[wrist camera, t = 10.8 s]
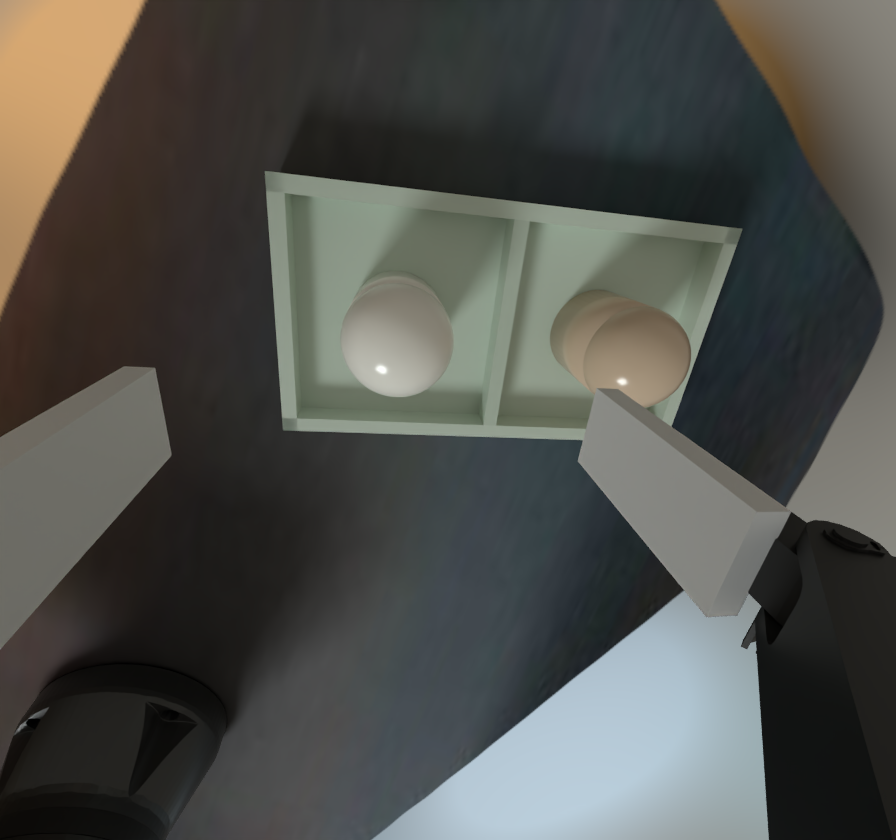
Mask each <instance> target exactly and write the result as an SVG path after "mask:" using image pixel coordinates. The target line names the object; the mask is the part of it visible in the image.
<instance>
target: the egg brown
mask: <svg viewBox="0 0 896 840" xmlns="http://www.w3.org/2000/svg"><path fill="white" fill-rule="evenodd" d="M550 346H551V350H552V353H553V355H554V357H555V359H556V361H557V362H558V363H559V364H560V365H561V366H562V367H563V368H565V369H566V370H567V371H568V372H569V373H570V374H571V375H572V376H574V377H575V378H576V379H577V380H578V381H579V382H580V383H581V384H583V385H584V386H585V387H586V388H587V389H588V390H589V391H590V392H592V393H593V394H594V395H595V392H596V388H607V389H619V390H620V391H622V392H623V393H624V394H626V395H627V396H629V397H630V398H631V399H633V400H634V401H636V402H637V403H638V404H640V405H641V406H643V407H644V408H646V407H650V406H653V405H655V404H658V403H660V402H662V401H664V400H665V399H667V398H668V397H669V396H671V395H672V394H673V393H674V392H675V391H676V390H677V389H678V388H679V386H680V385H681V384H682V382H683V381H684V379H685V377H686V375H687V373H688V370H689V367H690V362H691V346H690V342H689V339H688V336H687V334H686V332H685V330H684V329H683V327H682V326H681V324H680V323H679V322H678V321H677V320H676V319H675V318H674V317H672V316H671V315H670V314H668V313H666V312H664V311H662V310H660V309H657V308H655V307H652V306H649V305H646V304H643V303H641V302H638V301H635V300H632V299H629V298H627V297H624V296H621V295H618V294H615V293H613V292H610V291H606V290H590V291H586V292H583V293H581V294H579V295H577V296H575V297H574V298H572V299H571V300H569V301H568V302H567V303H566V304H565V305H564V306H563V307H562V308H561V310H560V311H559V312H558V314H557V316H556V317H555V319H554V322H553V324H552V328H551V332H550Z"/></svg>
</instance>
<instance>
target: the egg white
mask: <svg viewBox="0 0 896 840" xmlns="http://www.w3.org/2000/svg"><path fill="white" fill-rule="evenodd" d="M340 343H341V350H342V354H343V357H344V360H345V363H346V365H347V367H348V368H349V370H350V371H351V373H352V374H353V376H354V377H355V378H356V379H357V380H358V381H359V382H360V383H361V384H363V385H364V386H365V387H367V388H368V389H370V390H372V391H374V392H376V393H378V394H381V395H385V396H389V397H407V396H412V395H416V394H418V393H421V392H423V391H425V390H426V389H428V388H430V387H431V386H432V385H434V384H435V383H436V382H437V381H438V380H439V379H440V378H441V377H442V375H443V374H444V372H445V371H446V369H447V367H448V365H449V363H450V360H451V357H452V354H453V348H454V334H453V329H452V325H451V321H450V319H449V316H448V314H447V313H446V311H445V309H444V307H443V305H442V304H441V302H440V300H439V298H438V297H437V295H436V293H435V292H434V290H433V289H432V288H431V286H430V285H429V284H428V283H427V282H425V281H424V280H423V279H421V278H420V277H418V276H416V275H414V274H412V273H408V272H405V271H386V272H382V273H379V274H377V275H375V276H373V277H371V278H370V279H368V280H367V281H366V282H365V283H364V284H363V285H362V286H361V287H360V288H359V290H358V291H357V293H356V295H355V297H354V299H353V301H352V303H351V305H350V307H349V309H348V311H347V313H346V315H345V317H344V320H343V323H342V328H341V335H340Z"/></svg>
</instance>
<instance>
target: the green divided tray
mask: <svg viewBox="0 0 896 840" xmlns="http://www.w3.org/2000/svg"><path fill="white" fill-rule="evenodd" d="M265 182H266V196H267V210H268V224H269V238H270V252H271V267H272V281H273V295H274V309H275V323H276V337H277V352H278V366H279V380H280V394H281V408H282V422H283V430H288V431H319V432H350V433H381V434H412V435H443V436H474V437H505V438H536V439H567V440H583V439H584V435H585V431H586V427H587V423H588V420H589V416H590V412H591V408H592V404H593V400H594V396H595V395H594V394H593V393H592V392H590V391H589V390H588V389H587V388H586V387H585V386H584V385H583V384H581V383H580V382H579V381H578V380H577V379H576V378H575V377H574V376H572V375H571V374H570V373H569V372H568V371H567V370H566V369H565V368H563V367H562V366H561V365H560V364H559V363H558V362H557V361H556V359H555V357H554V355H553V353H552V350H551V346H550V332H551V328H552V324H553V322H554V319H555V317H556V316H557V314H558V312H559V311H560V310H561V308H562V307H563V306H564V305H565V304H566V303H567V302H568V301H569V300H571V299H572V298H574V297H575V296H577V295H579V294H581V293H583V292H586V291H590V290H606V291H610V292H613V293H615V294H618V295H621V296H624V297H627V298H629V299H632V300H635V301H638V302H641V303H643V304H646V305H649V306H652V307H655V308H657V309H660V310H662V311H664V312H666V313H668V314H670V315H671V316H672V317H674V318H675V319H676V320H677V321H678V322H679V323H680V324H681V326H682V327H683V329H684V330H685V332H686V334H687V336H688V339H689V342H690V346H691V362H690V367H689V370H688V373H687V375H686V377H685V379H684V381H683V382H682V384H681V385H680V386H679V388H678V389H677V390H676V391H675V392H674V393H673V394H672V395H671V396H669V397H668V398H667V399H665V400H664V401H662V402H660V403H658V404H655V405H653V406H650V407H646V409H647V410H648V411H650V412H651V413H653V414H654V415H655V416H657V417H658V418H660V419H661V420H662V421H664V422H665V423H667V424H668V425H670V426H672V424H673V421H674V418H675V415H676V412H677V410H678V407H679V404H680V401H681V399H682V396H683V393H684V390H685V387H686V385H687V382H688V379H689V376H690V374H691V371H692V368H693V365H694V362H695V360H696V357H697V354H698V351H699V349H700V346H701V343H702V340H703V337H704V335H705V332H706V329H707V326H708V324H709V321H710V318H711V315H712V313H713V310H714V307H715V304H716V301H717V299H718V296H719V293H720V290H721V288H722V285H723V282H724V279H725V276H726V274H727V271H728V268H729V265H730V263H731V260H732V257H733V254H734V251H735V249H736V246H737V243H738V240H739V238H740V235H741V232H742V229H739V228H731V227H723V226H714V225H706V224H698V223H690V222H681V221H673V220H665V219H657V218H648V217H640V216H632V215H624V214H616V213H607V212H599V211H591V210H583V209H574V208H566V207H558V206H550V205H541V204H533V203H525V202H517V201H508V200H500V199H492V198H484V197H475V196H467V195H459V194H451V193H442V192H434V191H426V190H418V189H409V188H401V187H393V186H385V185H377V184H368V183H360V182H352V181H344V180H335V179H327V178H319V177H311V176H302V175H294V174H286V173H278V172H269V171H265ZM386 271H405V272H408V273H412V274H414V275H416V276H418V277H420V278H421V279H423V280H424V281H425V282H427V283H428V284H429V285H430V286H431V288H432V289H433V290H434V292H435V293H436V295H437V297H438V298H439V300H440V302H441V304H442V305H443V307H444V309H445V311H446V313H447V314H448V316H449V319H450V321H451V325H452V329H453V334H454V348H453V354H452V357H451V360H450V363H449V365H448V367H447V369H446V371H445V372H444V374H443V375H442V377H441V378H440V379H439V380H438V381H437V382H436V383H435V384H434V385H432V386H431V387H430V388H428V389H426V390H425V391H423V392H421V393H418V394H416V395H412V396H407V397H389V396H385V395H381V394H378V393H376V392H374V391H372V390H370V389H368V388H367V387H365V386H364V385H363V384H361V383H360V382H359V381H358V380H357V379H356V378H355V377H354V376H353V374H352V373H351V371H350V370H349V368H348V367H347V365H346V363H345V360H344V357H343V354H342V350H341V343H340V335H341V328H342V323H343V320H344V317H345V315H346V313H347V311H348V309H349V307H350V305H351V303H352V301H353V299H354V297H355V295H356V293H357V291H358V290H359V288H360V287H361V286H362V285H363V284H364V283H365V282H366V281H367V280H368V279H370V278H371V277H373V276H375V275H377V274H379V273H382V272H386Z"/></svg>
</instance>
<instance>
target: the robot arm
mask: <svg viewBox="0 0 896 840" xmlns="http://www.w3.org/2000/svg"><path fill="white" fill-rule="evenodd" d="M171 456H172V454H171V449H170V444H169V438H168V433H167V428H166V422H165V417H164V412H163V407H162V401H161V396H160V391H159V386H158V380H157V375H156V370H155V368H149V367H127V366H124V367H122V368H120V369H119V370H117V371H115V372H113V373H112V374H110V375H108V376H106V377H105V378H103V379H101V380H99V381H98V382H96V383H94V384H92V385H91V386H89V387H87V388H85V389H84V390H82V391H80V392H78V393H77V394H75V395H73V396H71V397H70V398H68V399H66V400H64V401H63V402H61V403H59V404H57V405H56V406H54V407H52V408H50V409H49V410H47V411H45V412H43V413H42V414H40V415H38V416H36V417H35V418H33V419H31V420H29V421H28V422H26V423H24V424H22V425H21V426H19V427H17V428H15V429H14V430H12V431H10V432H8V433H7V434H5V435H3V436H1V437H0V649H1V648H2V647H3V646H4V644H5V643H6V642H7V641H8V640H9V639H10V638H11V637H12V635H13V634H14V633H15V632H16V631H17V630H18V629H19V628H20V626H21V625H22V624H23V623H24V622H25V621H26V620H27V618H28V617H29V616H30V615H31V614H32V613H33V612H34V611H35V609H36V608H37V607H38V606H39V605H40V604H41V603H42V602H43V600H44V599H45V598H46V597H47V596H48V595H49V594H50V592H51V591H52V590H53V589H54V588H55V587H56V586H57V585H58V583H59V582H60V581H61V580H62V579H63V578H64V577H65V575H66V574H67V573H68V572H69V571H70V570H71V569H72V568H73V566H74V565H75V564H76V563H77V562H78V561H79V560H80V559H81V557H82V556H83V555H84V554H85V553H86V552H87V551H88V549H89V548H90V547H91V546H92V545H93V544H94V543H95V542H96V540H97V539H98V538H99V537H100V536H101V535H102V534H103V533H104V531H105V530H106V529H107V528H108V527H109V526H110V525H111V523H112V522H113V521H114V520H115V519H116V518H117V517H118V516H119V514H120V513H121V512H122V511H123V510H124V509H125V508H126V507H127V505H128V504H129V503H130V502H131V501H132V500H133V499H134V497H135V496H136V495H137V494H138V493H139V492H140V491H141V490H142V488H143V487H144V486H145V485H146V484H147V483H148V482H149V481H150V479H151V478H152V477H153V476H154V475H155V474H156V473H157V471H158V470H159V469H160V468H161V467H162V466H163V465H164V464H165V462H166V461H167V460H168V459H169V458H170V457H171ZM578 462H579V463H580V464H581V465H582V467H583V468H584V469H585V470H586V472H587V473H588V474H589V475H590V476H591V478H592V479H593V480H594V481H595V483H596V484H597V485H598V486H599V487H600V489H601V490H602V491H603V492H604V493H605V495H606V496H607V497H608V498H609V500H610V501H611V502H612V503H613V504H614V506H615V507H616V508H617V509H618V510H619V512H620V513H621V514H622V515H623V517H624V518H625V519H626V520H627V521H628V523H629V524H630V525H631V526H632V527H633V529H634V530H635V531H636V532H637V534H638V535H639V536H640V537H641V538H642V540H643V541H644V542H645V543H646V544H647V546H648V547H649V548H650V549H651V551H652V552H653V553H654V554H655V555H656V557H657V558H658V559H659V560H660V561H661V563H662V564H663V565H664V566H665V568H666V569H667V570H668V571H669V572H670V574H671V575H672V576H673V577H674V578H675V580H676V581H677V582H678V583H679V585H680V586H681V587H682V588H683V589H684V591H685V592H686V593H687V594H688V595H689V597H690V598H691V599H692V600H693V602H694V603H695V604H696V605H697V606H698V607H699V609H700V610H701V611H702V612H703V614H704V615H705V616H706V617H719V616H737V615H738V613H739V611H740V609H741V607H742V605H743V604H744V602H745V600H746V598H747V596H748V594H750V595H751V596H752V597H753V598H754V599H755V600H756V601H757V602H758V603H759V604H760V605H761V606H762V607H761V608H760V610H759V612H758V614H757V616H756V618H755V620H754V621H753V623H752V625H751V627H750V628H749V630H748V632H747V634H746V636H745V638H744V639H743V642H742V645H741V647H743V648H745V649H747V648H748V646H749V645H750V643H751V642H755V641H756V647H757V651H756V654H757V662H758V677H759V694H760V707H761V708H760V709H761V723H762V740H763V755H764V770H765V786H766V801H767V817H768V832H769V840H896V557H893V556H891V555H890V554H889V553H888V551H887V550H886V549H885V548H884V547H883V546H881V545H880V544H879V543H878V542H876V541H874V540H873V539H871V538H869V537H867V536H865V535H863V534H861V533H860V532H858V531H855V530H853V529H851V528H848V527H845V526H842V525H840V524H835V523H831V522H828V521H818V520H814V521H811V522H808V523H806V522H805V521H803V520H802V519H801V518H799V517H798V516H796V515H795V514H793V513H792V512H791V511H790V510H788V509H787V508H785V507H784V506H783V505H781V504H780V503H778V502H777V501H776V500H774V499H773V498H771V497H770V496H768V495H767V494H766V493H764V492H763V491H761V490H760V489H759V488H757V487H756V486H754V485H753V484H751V483H750V482H749V481H747V480H746V479H744V478H743V477H742V476H740V475H739V474H737V473H736V472H735V471H733V470H732V469H730V468H729V467H727V466H726V465H725V464H723V463H722V462H720V461H719V460H718V459H716V458H715V457H713V456H712V455H711V454H709V453H708V452H706V451H705V450H703V449H702V448H701V447H699V446H698V445H696V444H695V443H694V442H692V441H691V440H689V439H688V438H686V437H685V436H684V435H682V434H681V433H679V432H678V431H677V430H675V429H674V428H672V427H671V426H670V425H668V424H667V423H665V422H664V421H662V420H661V419H660V418H658V417H657V416H655V415H654V414H653V413H651V412H650V411H648V410H647V409H646V408H644V407H643V406H641V405H640V404H638V403H637V402H636V401H634V400H633V399H631V398H630V397H629V396H627V395H626V394H624V393H623V392H622V391H620V390H619V389H607V388H596V392H595V396H594V400H593V404H592V408H591V412H590V416H589V420H588V423H587V427H586V431H585V435H584V439H583V443H582V447H581V451H580V455H579V459H578ZM226 724H227V718H226V712H225V710H224V707H223V705H222V703H221V702H220V701H219V699H218V698H217V697H216V696H215V695H214V694H213V693H212V692H211V691H210V690H209V689H207V688H206V687H205V686H203V685H202V684H200V683H198V682H197V681H195V680H193V679H191V678H189V677H186V676H184V675H181V674H179V673H176V672H173V671H169V670H165V669H161V668H156V667H151V666H143V665H132V664H114V665H102V666H95V667H90V668H85V669H81V670H78V671H75V672H72V673H69V674H67V675H64V676H62V677H60V678H58V679H57V680H55V681H53V682H52V683H51V684H49V685H48V686H47V687H46V688H45V689H44V690H43V691H42V692H41V693H40V694H39V696H38V697H37V698H36V700H35V701H34V702H33V704H32V705H31V707H30V708H29V709H28V711H27V712H26V714H25V715H24V716H23V718H22V719H21V721H20V723H19V724H18V726H17V728H16V730H15V733H14V736H13V738H12V741H11V744H10V747H9V750H8V752H7V755H6V758H5V761H4V764H3V766H2V769H1V772H0V840H166V837H167V835H168V834H169V832H170V830H171V829H172V827H173V826H174V824H175V822H176V821H177V819H178V818H179V816H180V814H181V813H182V811H183V810H184V808H185V806H186V805H187V803H188V802H189V800H190V799H191V797H192V795H193V794H194V792H195V791H196V789H197V787H198V786H199V784H200V783H201V781H202V779H203V778H204V776H205V775H206V773H207V772H208V770H209V768H210V767H211V765H212V764H213V762H214V760H215V758H216V756H217V753H218V751H219V748H220V745H221V741H222V738H223V735H224V732H225V729H226Z"/></svg>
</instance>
